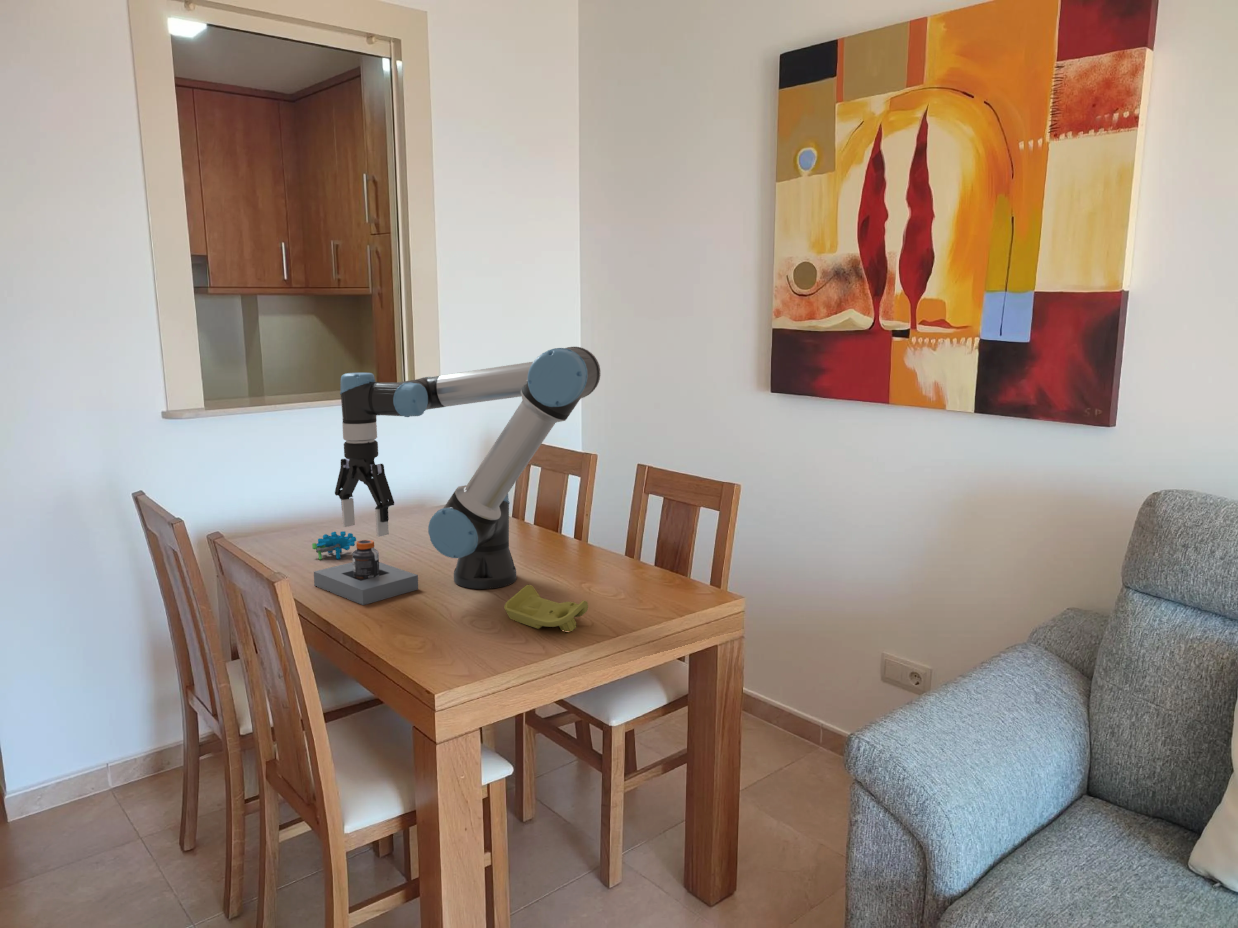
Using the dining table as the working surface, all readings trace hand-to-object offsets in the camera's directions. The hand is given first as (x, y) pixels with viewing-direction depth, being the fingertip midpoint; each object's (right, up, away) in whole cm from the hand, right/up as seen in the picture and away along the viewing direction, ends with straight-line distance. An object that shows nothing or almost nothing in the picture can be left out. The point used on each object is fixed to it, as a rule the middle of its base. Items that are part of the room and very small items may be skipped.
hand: (365, 530), depth 203 cm
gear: (-16, -9, +28) cm, 33 cm away
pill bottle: (0, -14, +3) cm, 14 cm away
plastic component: (+44, -19, -18) cm, 51 cm away
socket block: (-1, -14, +3) cm, 14 cm away
